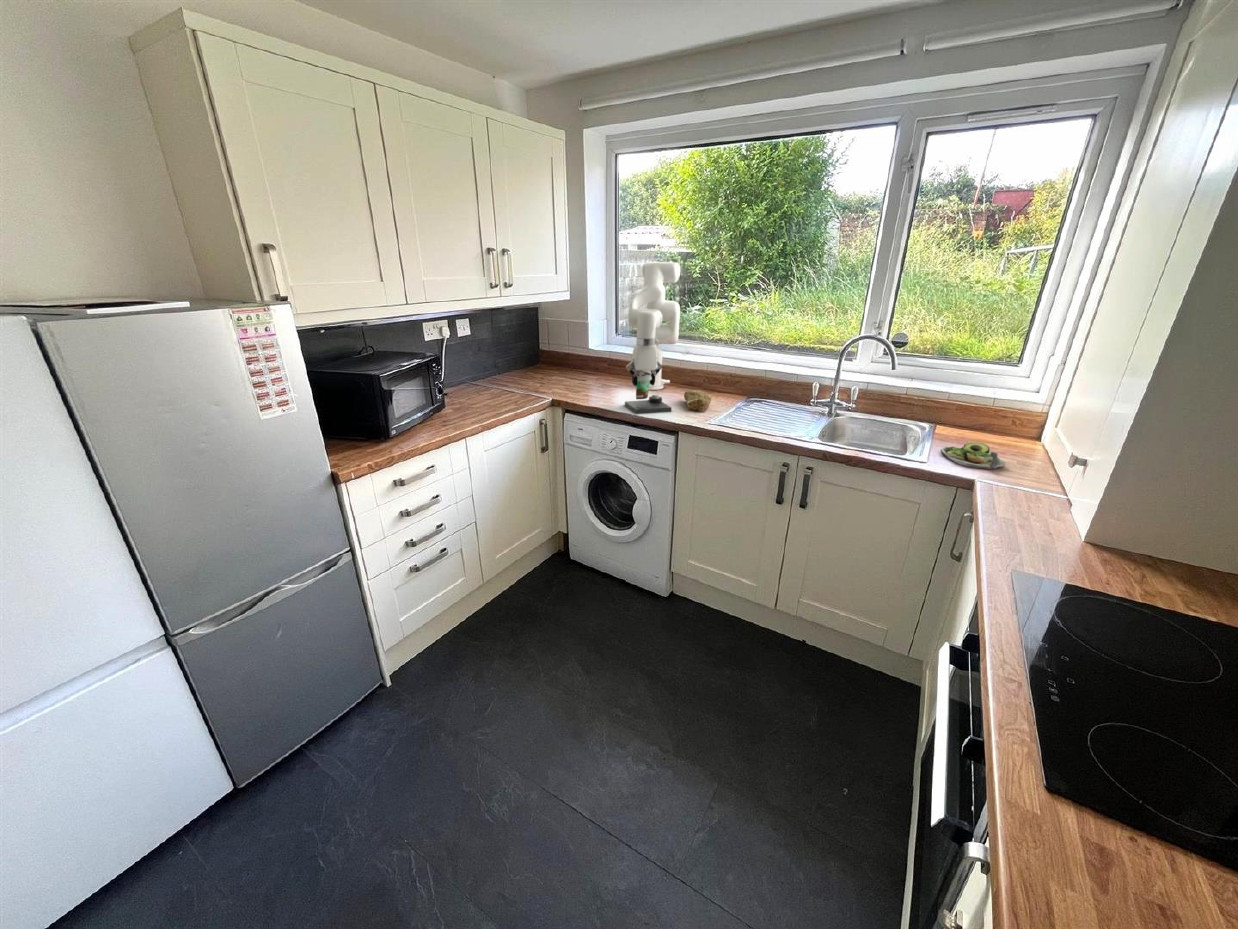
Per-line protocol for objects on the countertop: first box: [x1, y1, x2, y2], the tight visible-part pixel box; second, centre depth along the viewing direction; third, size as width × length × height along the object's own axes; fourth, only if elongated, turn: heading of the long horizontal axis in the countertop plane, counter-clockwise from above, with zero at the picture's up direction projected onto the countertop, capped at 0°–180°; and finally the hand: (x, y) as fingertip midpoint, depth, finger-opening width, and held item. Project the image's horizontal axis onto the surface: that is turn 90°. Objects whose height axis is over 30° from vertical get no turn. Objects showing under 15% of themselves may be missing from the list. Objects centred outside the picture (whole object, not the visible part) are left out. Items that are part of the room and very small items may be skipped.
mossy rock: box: [683, 389, 712, 412], centre depth 221 cm, size 13×8×20 cm
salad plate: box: [940, 442, 1007, 470], centre depth 165 cm, size 19×18×5 cm
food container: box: [635, 370, 652, 400], centre depth 211 cm, size 12×6×10 cm, turn 179°
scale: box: [624, 395, 672, 415], centre depth 215 cm, size 16×14×4 cm
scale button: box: [651, 393, 660, 399], centre depth 220 cm, size 3×3×2 cm
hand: (643, 384), depth 211 cm, fingers closed on food container, 7 cm apart
